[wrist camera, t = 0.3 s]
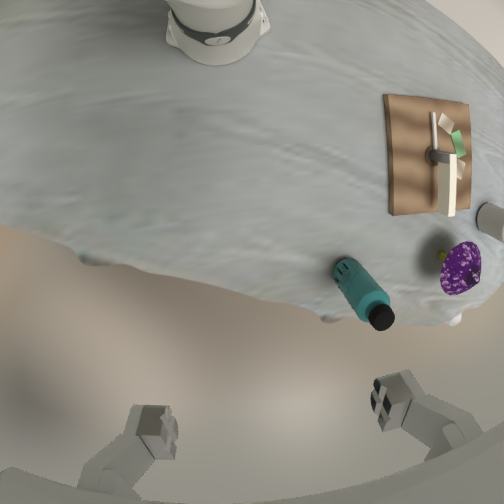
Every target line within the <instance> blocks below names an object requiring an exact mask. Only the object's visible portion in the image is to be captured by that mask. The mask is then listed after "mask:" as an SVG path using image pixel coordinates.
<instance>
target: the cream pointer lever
mask: <svg viewBox="0 0 504 504" xmlns="http://www.w3.org/2000/svg"><path fill="white" fill-rule="evenodd" d="M431 117H432V132H433V149H438V148H437V128H436V114H435V112H431ZM429 158H430V160H431V161H432V162H436V163H438V202H437V212H439V213H442V214H444V215H446V216H448V217H450V216H455V206H456V182H457V162H458V157H457V154H455V153H453V152H447V151H440V150H431V151H430V153H429Z"/></svg>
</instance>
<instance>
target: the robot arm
mask: <svg viewBox="0 0 504 504" xmlns="http://www.w3.org/2000/svg"><path fill="white" fill-rule="evenodd" d="M164 1H166V2H167V3H168V5H170V7H171V8H170V12H168V19H169V20H168V26H167V32H166V42H167V43H168V44H169V45H171V46H173V47H176V48H179V49H181V50H182V51H183V52H184V53H185V54H186V55H187V56H188V57H189V58H191V59H192V60H194V61H196V62H198V63H201V64H205V65H211V66H220V65H226V64H230V63H233V62H236V61H238V60H240V59H241V58H243V57H244V56H245V55H247V54H248V53H249V52H250V51H251V49H252V48H253V47H254V45H255V43H256V42H257V40H258V39H259V38H260V37H262V36H263V35H265V34H266V33H268V32H269V31H270V23H269V20H268V18H267V15H266V13H265V10H264V8H263V6H262V3H261V1H260V0H164ZM263 21H264V23H263ZM373 385H374V388H375V389H374V390H373V391H372V392H371V406H372V409H373V411H374V413H375V414H377V415H379V417H378V423H379V425H380V427H381V430H382V432H386V431H389V430H393V429H396V428H400V427H401V428H402V429H403V430H405V431H406V432H408V433H409V434H411V435H412V436H413V437H415V438H416V439H418V440H419V441H421V442H422V443H424V444H425V445H427V446H428V447H429V448H431V449H430V451H429V453H428V454H427V456H426V457H425V459H424V461H425V462H423V463H421V464H418V465H416V466H413V467H411V468H408V469H405V470H403V471H400V472H397V473H394V474H391V475H388V476H385V477H382V478H379V479H376V480H372V481H369V482H365V483H362V484H358V485H355V486H351V487H346V488H342V489H338V490H334V491H329V492H324V493H320V494H314V495H309V496H302V497H296V498H289V499H282V500H274V501H264V502H253V503H235V504H504V421H503V422H502V423H500V424H498V425H497V426H495V427H494V428H492V429H490V430H488V431H487V432H485V433H484V432H483V431H482V429H481V428H480V426H479V425H478V423H477V422H476V420H475V419H474V417H473V416H472V414H471V413H469V412H467V411H464V410H462V409H460V408H458V407H455V406H453V405H451V404H449V403H447V402H445V401H443V400H440V399H439V398H437V397H434V396H432V395H430V394H427V395H426V394H425V392H424V391H423V390H422V388H421V386H420V385H419V383H418V382H417V380H416V378H415V377H414V375H413V374H412V373H411V371H410V370H404V371H401V372H398V373H393V374H390V375H386V376H383V377H379V378H376V379H375V380H374V383H373ZM171 413H172V410H171V408H170V406H161V405H160V406H159V405H133V406H132V407H131V410H130V413H129V416H128V420H127V423H126V426H125V430H124V434H120V435H119V436H117V437H116V438H115V439H114V440H113V441H112V442H110V443H109V444H108V445H107V446H106V447H105V448H103V449H102V450H101V451H100V452H99V453H97V454H96V455H95V456H94V457H93V458H91V459H90V460H89V461H88V462H86V463H85V464H84V466H83V470H82V472H81V476H80V479H79V482H78V485H77V488H76V487H72V486H69V485H65V484H62V483H58V482H55V481H52V480H48V479H45V478H42V477H39V476H36V475H34V474H31V473H28V472H25V471H23V470H20V469H18V468H14V467H10V468H7V469H5V470H3V471H1V472H0V504H185V503H168V502H156V501H147V500H141V497H140V495H139V494H137V493H136V491H134V490H133V489H132V487H133V486H134V485H135V484H136V483H137V482H138V480H139V479H140V478H141V477H142V476H143V475H144V473H145V472H146V471H147V470H148V469H149V467H150V466H151V465H152V464H153V463H154V461H155V459H157V460H158V459H159V460H175V453H176V446H175V444H174V442H175V441H176V440H177V439H178V425H177V421H176V419H175V417H173V416H171Z"/></svg>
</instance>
